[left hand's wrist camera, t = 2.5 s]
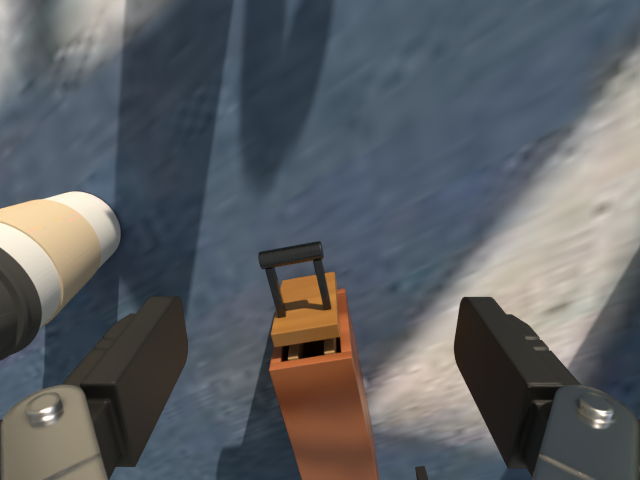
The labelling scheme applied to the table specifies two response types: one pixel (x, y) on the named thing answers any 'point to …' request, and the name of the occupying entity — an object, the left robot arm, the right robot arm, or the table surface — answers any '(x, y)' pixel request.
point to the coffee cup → (49, 260)
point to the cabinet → (327, 409)
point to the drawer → (303, 303)
